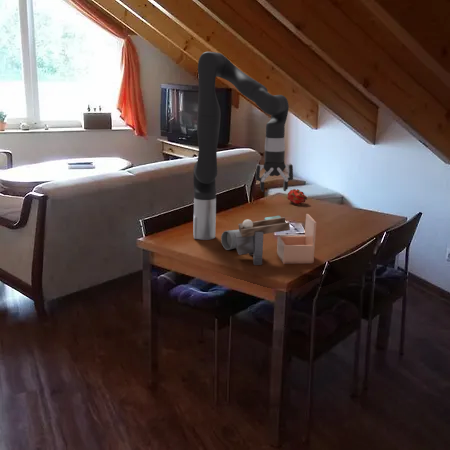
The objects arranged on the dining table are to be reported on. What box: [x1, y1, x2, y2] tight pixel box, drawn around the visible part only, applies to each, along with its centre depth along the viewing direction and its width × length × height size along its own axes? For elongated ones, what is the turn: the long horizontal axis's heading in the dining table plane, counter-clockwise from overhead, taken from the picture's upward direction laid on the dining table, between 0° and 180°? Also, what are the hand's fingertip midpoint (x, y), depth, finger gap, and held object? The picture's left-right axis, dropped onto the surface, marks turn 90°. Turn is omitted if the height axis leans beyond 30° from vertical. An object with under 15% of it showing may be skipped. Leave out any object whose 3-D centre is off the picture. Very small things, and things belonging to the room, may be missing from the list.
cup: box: [276, 213, 317, 265], centre depth 211 cm, size 12×12×16 cm
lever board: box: [234, 215, 291, 256], centre depth 212 cm, size 20×16×10 cm
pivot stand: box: [248, 231, 264, 266], centre depth 209 cm, size 3×13×12 cm, turn 7°
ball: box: [242, 218, 254, 229], centre depth 207 cm, size 4×4×4 cm
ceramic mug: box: [220, 229, 240, 251], centre depth 223 cm, size 11×8×8 cm
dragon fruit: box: [286, 188, 308, 206], centre depth 293 cm, size 8×8×12 cm
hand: (273, 190), depth 214 cm, fingers open, 8 cm apart
